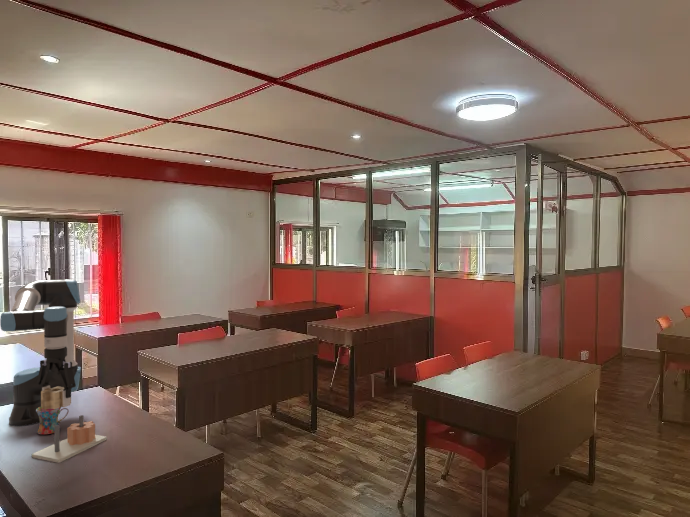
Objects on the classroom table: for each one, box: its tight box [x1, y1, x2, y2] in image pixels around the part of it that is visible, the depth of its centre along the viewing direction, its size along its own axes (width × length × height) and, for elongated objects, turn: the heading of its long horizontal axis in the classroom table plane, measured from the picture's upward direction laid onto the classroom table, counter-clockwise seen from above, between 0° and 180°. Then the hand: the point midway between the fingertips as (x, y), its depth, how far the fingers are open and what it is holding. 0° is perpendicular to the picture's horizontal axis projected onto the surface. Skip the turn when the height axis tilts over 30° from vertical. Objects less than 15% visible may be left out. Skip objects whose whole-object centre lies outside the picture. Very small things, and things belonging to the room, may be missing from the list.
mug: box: [36, 407, 69, 436], centre depth 201 cm, size 12×9×11 cm
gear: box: [41, 386, 72, 409], centre depth 178 cm, size 10×10×6 cm
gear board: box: [31, 414, 108, 464], centre depth 184 cm, size 14×22×11 cm, turn 162°
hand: (56, 404), depth 178 cm, fingers closed on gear, 10 cm apart
